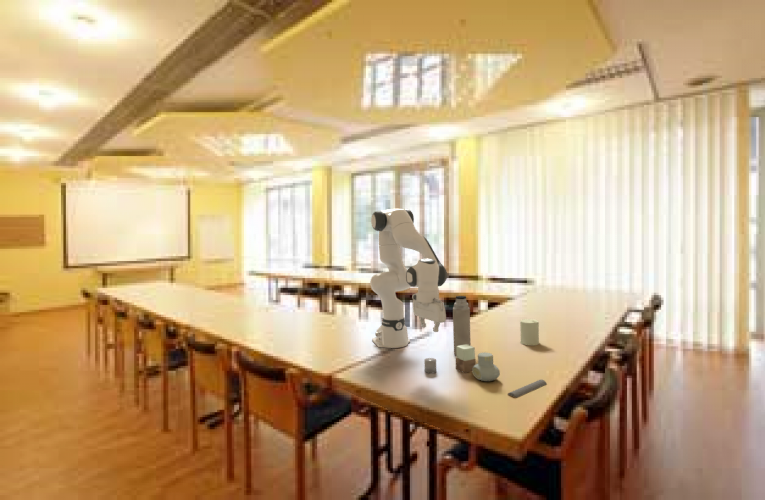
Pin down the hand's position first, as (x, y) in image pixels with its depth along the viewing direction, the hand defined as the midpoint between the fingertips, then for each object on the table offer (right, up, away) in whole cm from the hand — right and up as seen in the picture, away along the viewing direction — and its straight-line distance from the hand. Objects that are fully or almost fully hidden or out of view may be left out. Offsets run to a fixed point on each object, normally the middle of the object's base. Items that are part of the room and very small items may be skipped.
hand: (429, 329), depth 174 cm
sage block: (+16, -13, +2) cm, 20 cm away
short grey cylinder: (+1, -18, +1) cm, 18 cm away
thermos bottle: (+18, -17, +23) cm, 34 cm away
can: (+56, -15, +38) cm, 69 cm away
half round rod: (+34, -19, -21) cm, 45 cm away
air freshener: (+22, -18, -10) cm, 30 cm away
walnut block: (+16, -18, +2) cm, 24 cm away
